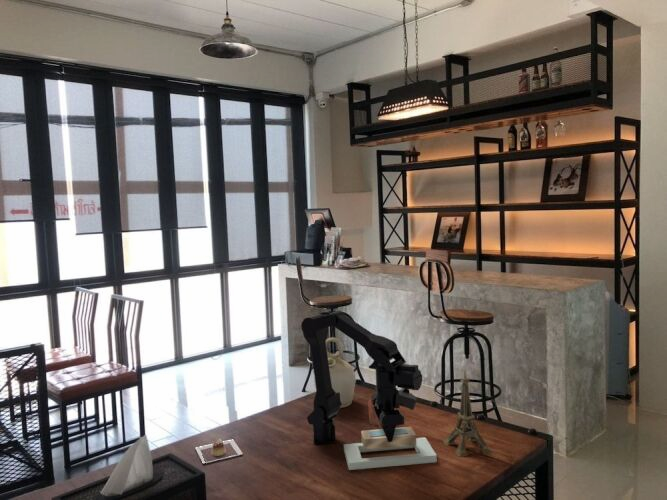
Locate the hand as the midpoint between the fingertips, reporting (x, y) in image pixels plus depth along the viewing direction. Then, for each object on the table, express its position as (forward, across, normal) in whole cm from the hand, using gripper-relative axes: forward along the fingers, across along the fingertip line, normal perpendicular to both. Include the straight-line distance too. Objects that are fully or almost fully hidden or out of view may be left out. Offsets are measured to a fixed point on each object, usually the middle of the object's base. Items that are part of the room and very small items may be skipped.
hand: (387, 437), depth 157 cm
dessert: (+7, +12, +50) cm, 52 cm away
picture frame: (+2, 0, 0) cm, 2 cm away
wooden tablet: (+7, +35, -5) cm, 36 cm away
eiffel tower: (+6, +2, -24) cm, 25 cm away
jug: (+6, +46, +11) cm, 48 cm away
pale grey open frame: (+6, 0, 0) cm, 6 cm away
